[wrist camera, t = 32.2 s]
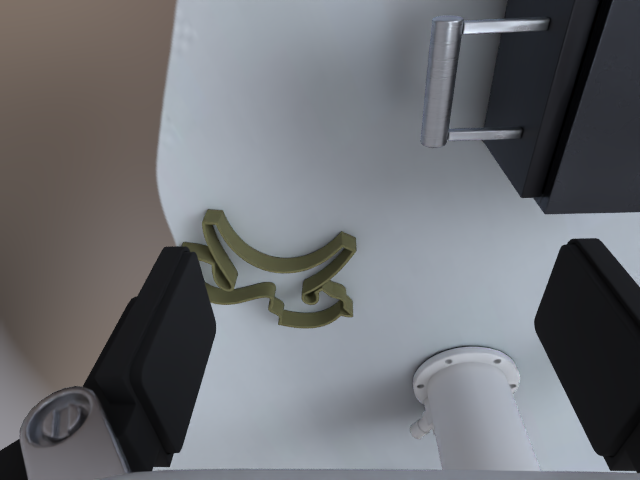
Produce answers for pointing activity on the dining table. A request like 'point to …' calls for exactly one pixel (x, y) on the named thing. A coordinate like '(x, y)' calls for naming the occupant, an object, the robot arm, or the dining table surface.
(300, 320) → the cookie cutter
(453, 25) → the drawer
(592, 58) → the dark grey metal box
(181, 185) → the dining table surface
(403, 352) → the dining table surface
